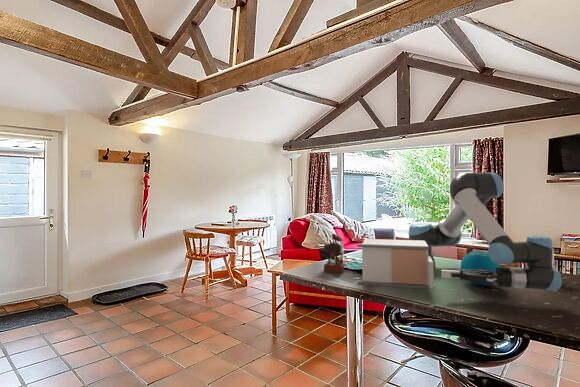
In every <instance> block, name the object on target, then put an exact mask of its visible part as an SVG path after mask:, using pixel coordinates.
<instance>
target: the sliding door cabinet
mask: <svg viewBox="0 0 580 387" xmlns="http://www.w3.org/2000/svg"><path fill="white" fill-rule="evenodd" d="M356 247H357V248H361V250H362V251H361V253H362V254H361V256H362V257H361V258H362V259H361V261H362V264H361V265H362V267H361V268H362V280H360V279H359V280H357V285H368V286H380V287H381V286H382V287H384V286H385V287H395V288H410V289H411V288H414V289H425V290H430V288H429V285H428V282H427V279H426V285H420V284H405V283H392V248H394V249H422V250H426V256H428V250H429V247H428V245H427V243H426V242H425V241H422V240H409V239H388V238H387V239H380V238H378V239H377V238H376V239H375V238H364V240H363V241H362V243H357V246H356Z"/></svg>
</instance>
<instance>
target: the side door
mask: <svg viewBox="0 0 580 387" xmlns="http://www.w3.org/2000/svg"><path fill="white" fill-rule="evenodd" d="M426 279H427V282H428V285H429V289H431V288H432V289H434V287H435V286H434V284H435V283H434V281H435V280H434V268H433V261H432V259H431V257H430V256H426V250H422V249H394V248H392V283H405V284H420V285H426Z"/></svg>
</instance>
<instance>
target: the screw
mask: <svg viewBox="0 0 580 387" xmlns="http://www.w3.org/2000/svg"><path fill="white" fill-rule="evenodd" d="M340 242H341V247H342V249H341V253H342V255H339V260H340V257H341V259H342V260H343V262H344V263H346V262H347V259H346V258H345V259H344V241H340Z"/></svg>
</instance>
